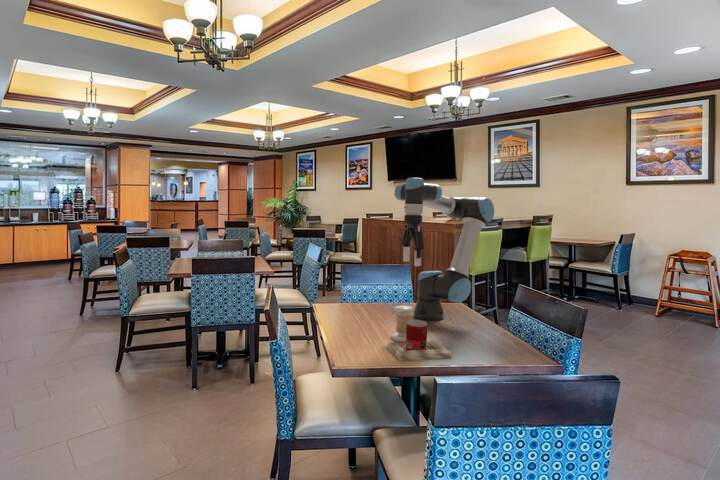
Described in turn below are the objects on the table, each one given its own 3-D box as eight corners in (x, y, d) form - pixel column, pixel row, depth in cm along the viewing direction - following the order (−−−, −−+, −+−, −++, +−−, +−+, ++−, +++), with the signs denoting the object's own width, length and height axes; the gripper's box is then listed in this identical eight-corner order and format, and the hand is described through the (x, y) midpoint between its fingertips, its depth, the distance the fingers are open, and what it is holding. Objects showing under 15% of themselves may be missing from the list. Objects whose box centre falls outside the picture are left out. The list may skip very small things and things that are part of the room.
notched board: (434, 344, 181) (435, 340, 180) (451, 357, 166) (451, 352, 166) (387, 347, 176) (387, 342, 175) (400, 360, 161) (400, 355, 161)
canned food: (425, 354, 169) (426, 325, 168) (404, 352, 170) (405, 324, 169) (426, 348, 176) (427, 320, 175) (406, 346, 178) (407, 319, 177)
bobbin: (409, 334, 194) (410, 304, 193) (418, 341, 185) (419, 310, 184) (387, 335, 192) (388, 305, 191) (395, 342, 182) (396, 311, 181)
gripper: (395, 213, 202) (394, 259, 204) (415, 215, 178) (413, 268, 180) (411, 213, 204) (409, 259, 206) (433, 215, 180) (431, 267, 181)
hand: (411, 263), depth 193 cm, fingers open, 13 cm apart
